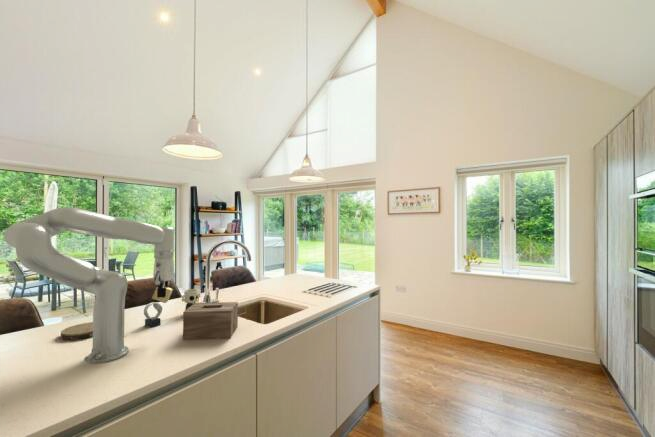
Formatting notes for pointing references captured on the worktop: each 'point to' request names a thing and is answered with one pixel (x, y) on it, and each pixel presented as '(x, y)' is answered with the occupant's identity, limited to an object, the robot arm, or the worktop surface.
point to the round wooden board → (78, 332)
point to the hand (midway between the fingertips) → (162, 296)
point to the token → (163, 299)
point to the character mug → (190, 297)
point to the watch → (153, 320)
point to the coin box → (210, 320)
